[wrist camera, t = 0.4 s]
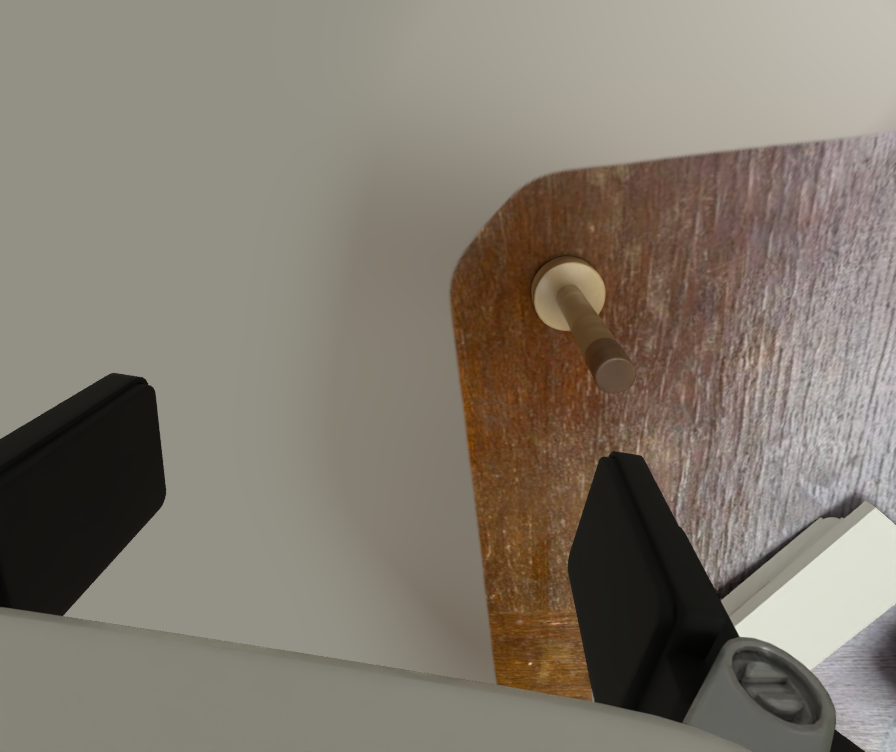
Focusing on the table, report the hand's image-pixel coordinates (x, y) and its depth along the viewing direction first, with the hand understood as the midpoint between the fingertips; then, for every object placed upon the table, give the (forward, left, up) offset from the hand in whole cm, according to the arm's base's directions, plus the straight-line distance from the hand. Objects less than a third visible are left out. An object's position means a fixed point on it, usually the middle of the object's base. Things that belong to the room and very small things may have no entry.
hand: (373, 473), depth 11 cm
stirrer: (-4, +7, -24) cm, 26 cm away
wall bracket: (+6, +39, -24) cm, 47 cm away
